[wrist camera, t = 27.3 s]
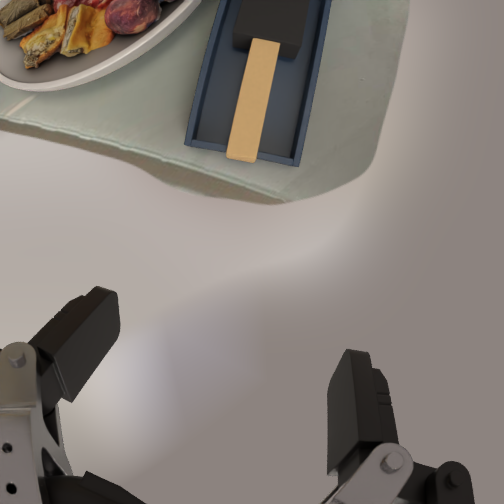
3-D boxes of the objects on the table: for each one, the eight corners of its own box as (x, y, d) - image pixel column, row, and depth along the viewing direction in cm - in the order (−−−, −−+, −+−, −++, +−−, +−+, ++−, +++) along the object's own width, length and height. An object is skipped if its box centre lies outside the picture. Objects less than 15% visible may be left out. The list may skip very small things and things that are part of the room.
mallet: (304, 8, 24) (311, -7, 21) (273, 167, 27) (279, 163, 24) (246, -4, 23) (248, -20, 20) (206, 154, 26) (203, 149, 23)
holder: (328, -10, 24) (335, -22, 21) (293, 166, 29) (299, 167, 26) (235, -29, 23) (235, -44, 20) (189, 146, 28) (183, 144, 26)
